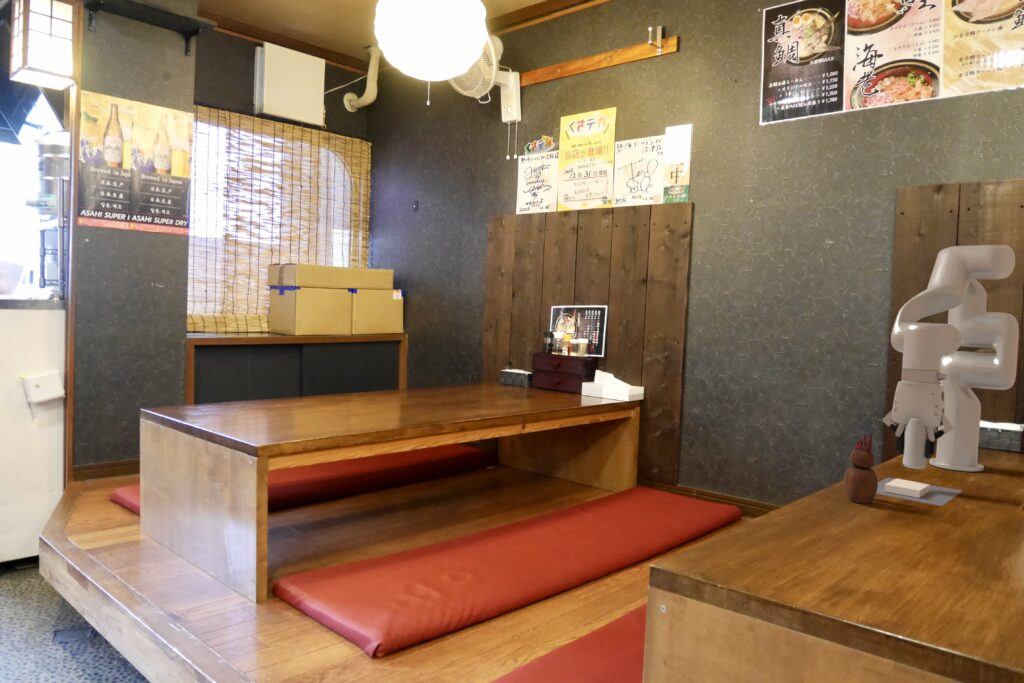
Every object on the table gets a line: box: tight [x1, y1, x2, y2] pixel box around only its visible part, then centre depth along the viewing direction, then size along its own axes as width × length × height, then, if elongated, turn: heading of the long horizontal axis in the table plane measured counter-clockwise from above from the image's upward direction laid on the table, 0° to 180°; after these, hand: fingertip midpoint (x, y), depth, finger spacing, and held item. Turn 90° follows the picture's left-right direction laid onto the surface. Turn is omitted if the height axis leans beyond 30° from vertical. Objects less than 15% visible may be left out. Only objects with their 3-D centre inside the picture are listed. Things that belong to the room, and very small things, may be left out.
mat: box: [876, 477, 963, 507], centre depth 162 cm, size 20×16×1 cm
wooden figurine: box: [843, 433, 879, 504], centre depth 152 cm, size 7×6×15 cm
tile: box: [885, 478, 931, 498], centre depth 160 cm, size 2×7×9 cm
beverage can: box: [902, 417, 929, 470], centre depth 163 cm, size 5×5×12 cm
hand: (915, 454), depth 164 cm, fingers closed on beverage can, 4 cm apart
